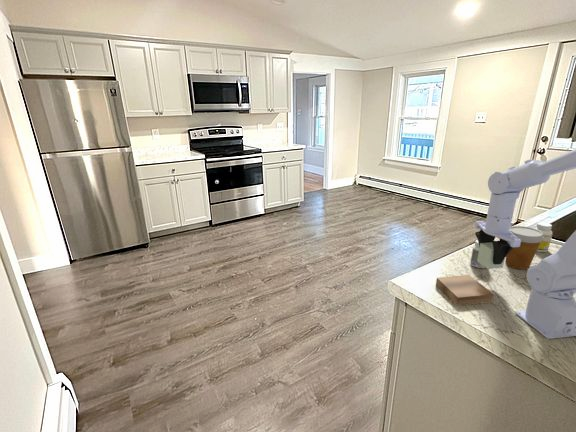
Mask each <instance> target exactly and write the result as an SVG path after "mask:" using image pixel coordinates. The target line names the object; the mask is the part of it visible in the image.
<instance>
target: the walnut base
mask: <svg viewBox="0 0 576 432" xmlns="http://www.w3.org/2000/svg"><path fill="white" fill-rule="evenodd" d="M435 286H436V287H437V288H438V289H439V290H440V291H441V292H442V293H443V294H444V295H445V296H446V297H447V298H448V299H449V300H450V301H451V302H452V303H453V304H454V305H455V306H464V305H465V306H466V305H476V304H478V305H479V304H486V303H488V304H489V303H493V299H494V296H495V294H494V293H493V292H492V291H491V290H489V289H488V288H487V287H486V286H484V285H482V283H480V282H479V281H478V280H477V279H475V278H474V277H473V276H471V275H470V274H463V275H455V276H454V275H453V276H452V275H451V276H442V277H436V281H435Z"/></svg>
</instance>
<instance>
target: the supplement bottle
mask: <svg viewBox="0 0 576 432" xmlns="http://www.w3.org/2000/svg"><path fill="white" fill-rule="evenodd" d="M552 227H553V225H552V224H550V223H549V222H544V221H543V222H542V221H541V222H537V224H536V227H535V228H534V229H537V230H539V231H541V232H542V233H543V237H544V239H543V240H542V241H541V242H540V244H539V247H538V249H537V251H536V253H547V252H548V251H549V249H550V245H551V240H552V239H553V238H552V237H553V231H552Z"/></svg>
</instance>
